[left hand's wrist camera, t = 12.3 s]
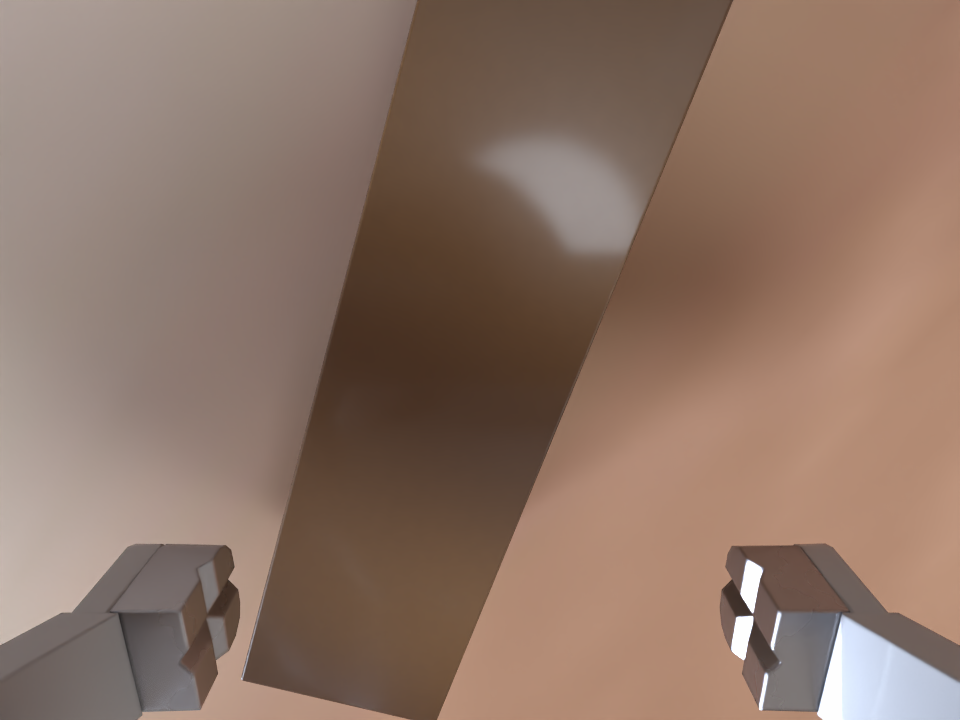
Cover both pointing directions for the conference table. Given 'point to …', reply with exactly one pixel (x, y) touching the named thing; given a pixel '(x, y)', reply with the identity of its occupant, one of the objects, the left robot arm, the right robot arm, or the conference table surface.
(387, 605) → the bar
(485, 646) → the conference table surface
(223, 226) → the conference table surface
